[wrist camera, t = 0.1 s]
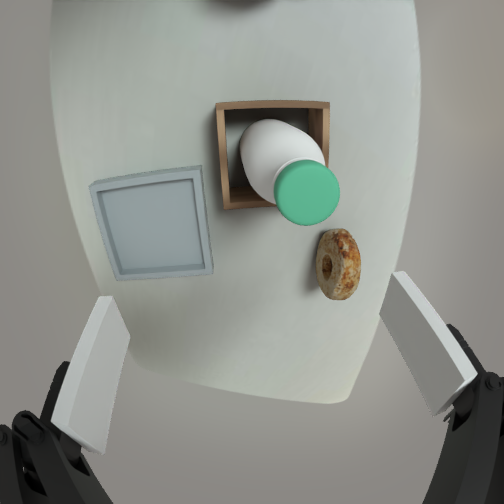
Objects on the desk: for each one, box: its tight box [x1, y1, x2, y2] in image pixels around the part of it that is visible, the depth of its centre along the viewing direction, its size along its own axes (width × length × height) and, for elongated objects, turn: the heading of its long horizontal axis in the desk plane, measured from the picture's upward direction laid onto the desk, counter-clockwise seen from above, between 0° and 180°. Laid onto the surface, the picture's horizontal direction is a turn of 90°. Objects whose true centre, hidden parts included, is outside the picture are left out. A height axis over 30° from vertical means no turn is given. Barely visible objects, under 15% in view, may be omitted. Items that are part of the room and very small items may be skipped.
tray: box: [89, 165, 213, 281], centre depth 39 cm, size 16×16×2 cm
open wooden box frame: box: [216, 100, 330, 210], centre depth 33 cm, size 13×13×6 cm
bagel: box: [316, 229, 361, 300], centre depth 40 cm, size 10×4×10 cm, turn 176°
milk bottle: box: [240, 119, 340, 226], centre depth 27 cm, size 8×8×20 cm
